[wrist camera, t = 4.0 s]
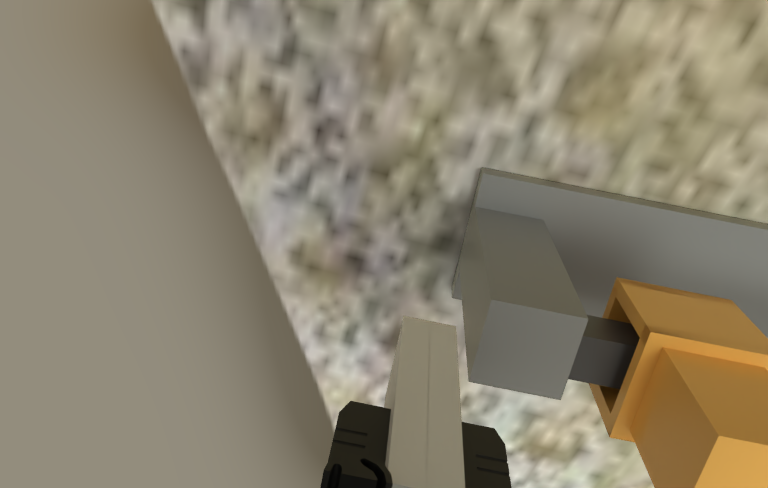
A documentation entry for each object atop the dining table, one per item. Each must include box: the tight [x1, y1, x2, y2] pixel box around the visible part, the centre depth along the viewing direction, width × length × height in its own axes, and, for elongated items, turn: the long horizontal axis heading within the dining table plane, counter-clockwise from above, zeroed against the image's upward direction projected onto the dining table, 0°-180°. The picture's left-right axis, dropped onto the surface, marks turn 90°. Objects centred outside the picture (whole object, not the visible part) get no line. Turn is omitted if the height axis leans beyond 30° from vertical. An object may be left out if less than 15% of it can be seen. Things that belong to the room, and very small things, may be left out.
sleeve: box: [589, 277, 768, 488], centre depth 19 cm, size 4×4×8 cm
